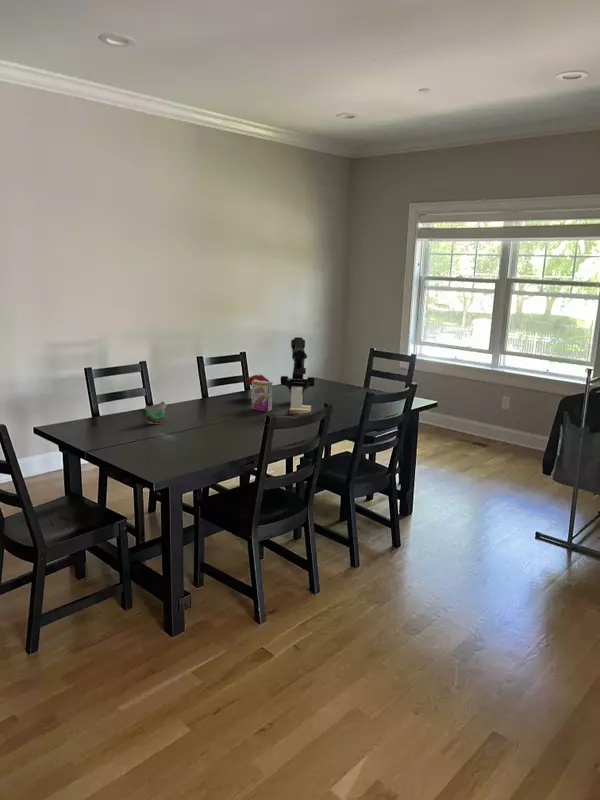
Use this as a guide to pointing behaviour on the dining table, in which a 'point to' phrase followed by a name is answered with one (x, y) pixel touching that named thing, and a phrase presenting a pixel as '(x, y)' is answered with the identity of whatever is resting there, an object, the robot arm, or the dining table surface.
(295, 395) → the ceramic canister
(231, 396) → the dining table surface
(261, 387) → the candy bar box
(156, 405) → the food container
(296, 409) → the oak block
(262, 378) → the decorative mushroom
